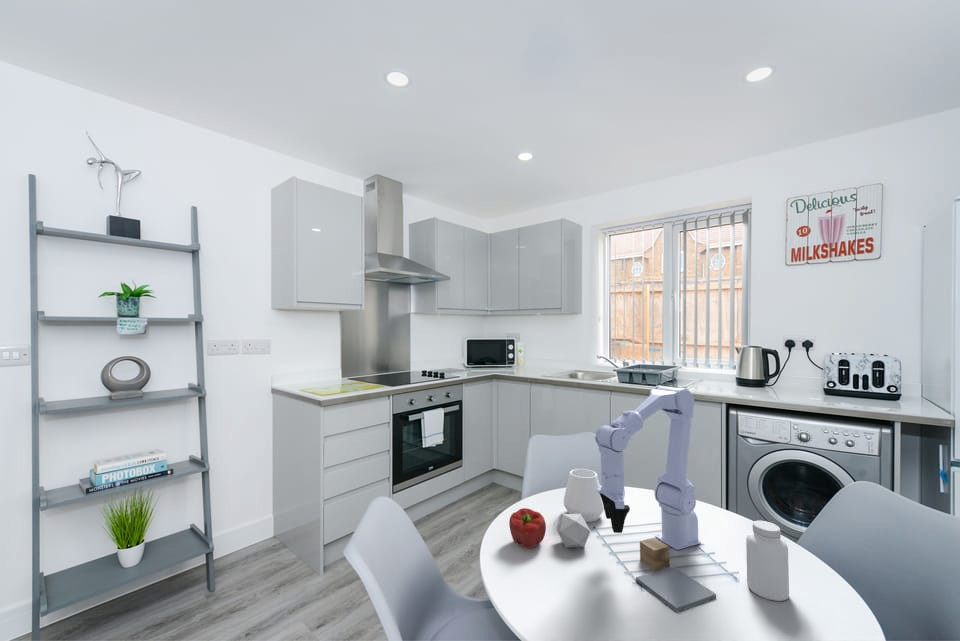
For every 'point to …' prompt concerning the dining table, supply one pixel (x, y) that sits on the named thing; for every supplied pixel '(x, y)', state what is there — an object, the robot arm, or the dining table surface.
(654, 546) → the tan cube
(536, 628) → the dining table surface
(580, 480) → the white vase
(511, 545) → the dining table surface
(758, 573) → the pill bottle
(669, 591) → the slate coaster
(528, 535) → the vegetable
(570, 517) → the die
